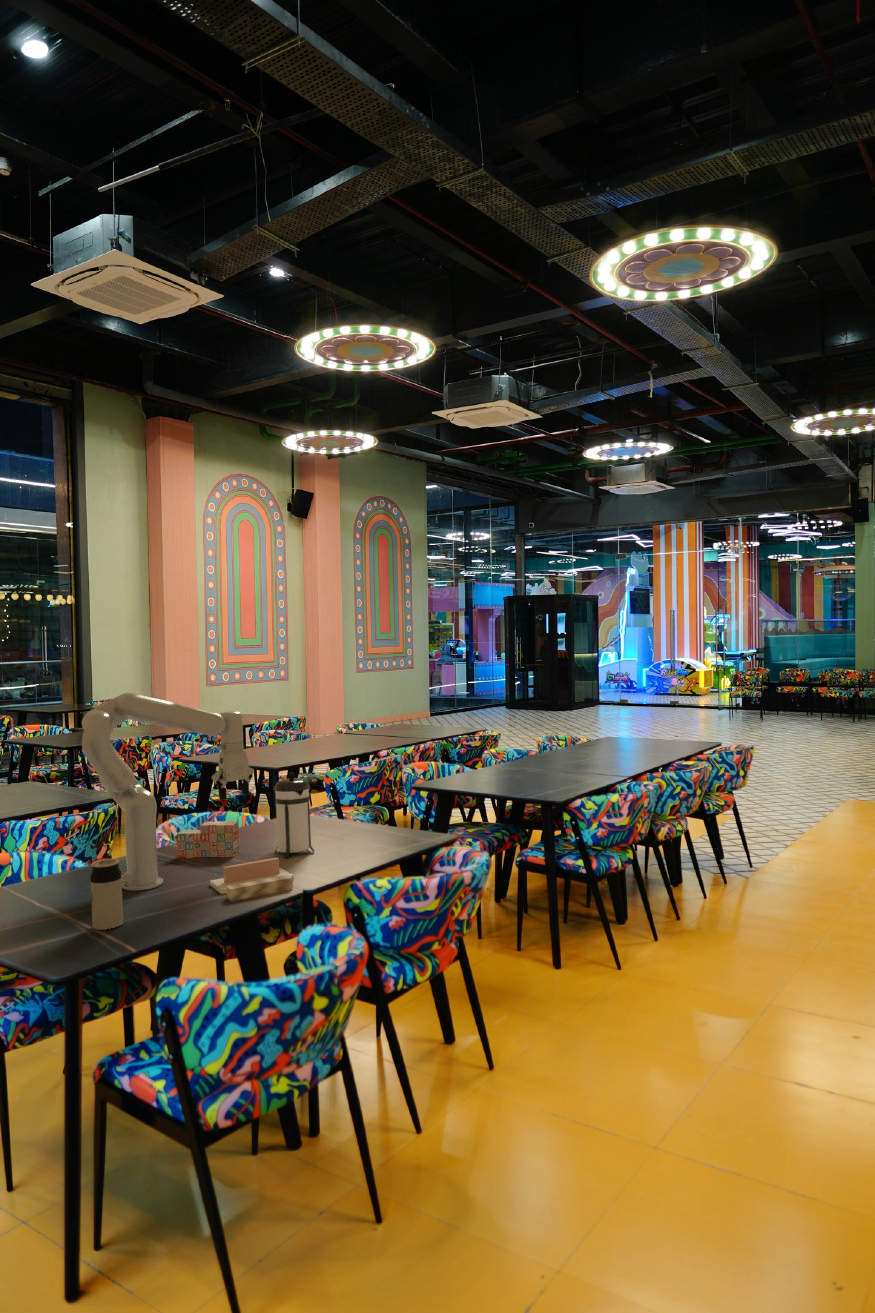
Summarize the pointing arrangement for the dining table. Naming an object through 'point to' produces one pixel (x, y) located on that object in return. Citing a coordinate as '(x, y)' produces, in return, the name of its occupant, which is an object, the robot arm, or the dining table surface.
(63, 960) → the dining table surface
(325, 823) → the dining table surface
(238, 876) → the stand
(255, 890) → the oak bar
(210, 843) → the stack of blocks
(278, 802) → the coffee press
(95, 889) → the travel mug
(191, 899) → the dining table surface
